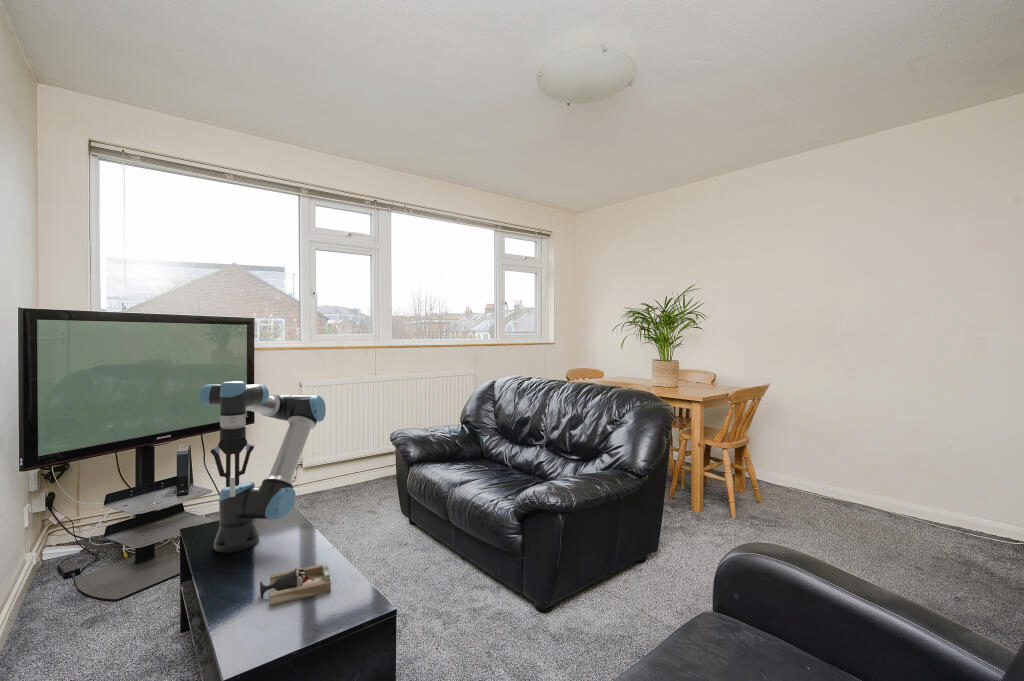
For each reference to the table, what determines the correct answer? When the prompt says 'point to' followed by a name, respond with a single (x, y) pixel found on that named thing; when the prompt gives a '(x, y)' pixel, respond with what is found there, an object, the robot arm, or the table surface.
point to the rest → (307, 589)
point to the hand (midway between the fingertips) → (232, 495)
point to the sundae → (286, 581)
